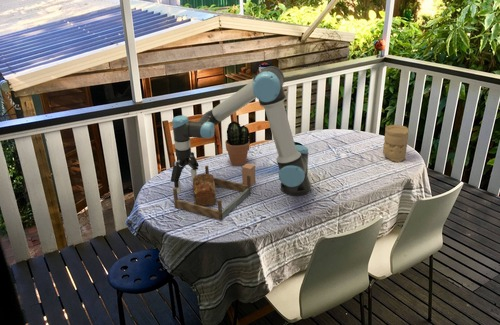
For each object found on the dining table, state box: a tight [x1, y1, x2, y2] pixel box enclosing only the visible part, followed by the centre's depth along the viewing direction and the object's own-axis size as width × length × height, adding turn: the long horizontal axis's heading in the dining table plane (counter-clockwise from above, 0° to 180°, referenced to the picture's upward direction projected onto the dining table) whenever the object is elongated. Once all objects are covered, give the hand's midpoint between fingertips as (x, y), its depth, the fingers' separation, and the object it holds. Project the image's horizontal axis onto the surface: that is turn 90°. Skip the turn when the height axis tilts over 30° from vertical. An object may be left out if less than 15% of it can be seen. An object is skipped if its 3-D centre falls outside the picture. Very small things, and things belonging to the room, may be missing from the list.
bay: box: [172, 165, 252, 221], centre depth 217 cm, size 26×28×10 cm
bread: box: [192, 173, 216, 207], centre depth 221 cm, size 19×11×10 cm, turn 7°
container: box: [382, 124, 410, 163], centre depth 255 cm, size 13×13×18 cm
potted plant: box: [225, 120, 250, 167], centre depth 253 cm, size 14×14×25 cm
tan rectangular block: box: [241, 162, 256, 187], centre depth 233 cm, size 5×5×10 cm
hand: (186, 186), depth 225 cm, fingers open, 13 cm apart
